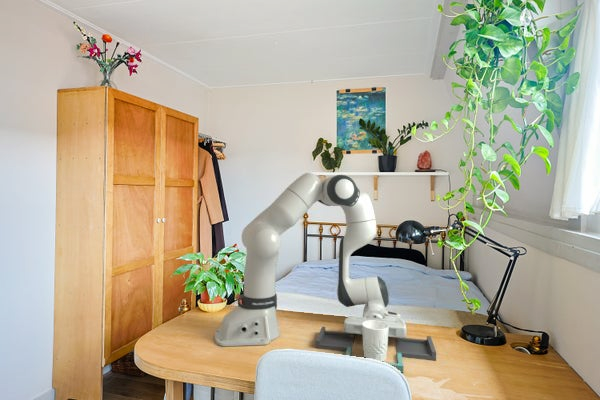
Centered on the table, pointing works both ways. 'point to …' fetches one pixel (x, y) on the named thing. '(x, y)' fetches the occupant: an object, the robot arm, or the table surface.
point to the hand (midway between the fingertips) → (374, 336)
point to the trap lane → (403, 346)
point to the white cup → (375, 339)
